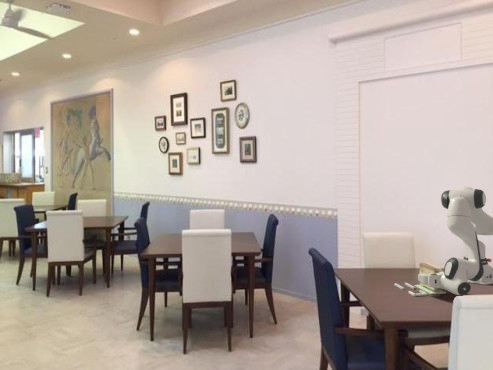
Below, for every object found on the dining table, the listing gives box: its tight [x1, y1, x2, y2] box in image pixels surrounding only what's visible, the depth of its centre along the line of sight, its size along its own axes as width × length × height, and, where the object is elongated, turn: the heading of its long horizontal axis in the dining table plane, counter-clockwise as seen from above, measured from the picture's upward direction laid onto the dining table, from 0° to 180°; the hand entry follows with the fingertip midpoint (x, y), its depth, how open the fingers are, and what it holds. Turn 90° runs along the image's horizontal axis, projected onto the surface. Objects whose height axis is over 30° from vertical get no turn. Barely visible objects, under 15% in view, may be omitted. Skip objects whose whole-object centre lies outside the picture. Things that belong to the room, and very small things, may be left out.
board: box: [418, 262, 443, 291], centre depth 232 cm, size 4×14×12 cm, turn 9°
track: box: [394, 282, 416, 291], centre depth 238 cm, size 8×9×1 cm
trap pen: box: [407, 289, 428, 297], centre depth 225 cm, size 8×6×1 cm
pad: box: [414, 284, 447, 295], centre depth 232 cm, size 9×16×1 cm, turn 9°
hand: (429, 273), depth 233 cm, fingers closed on board, 4 cm apart
